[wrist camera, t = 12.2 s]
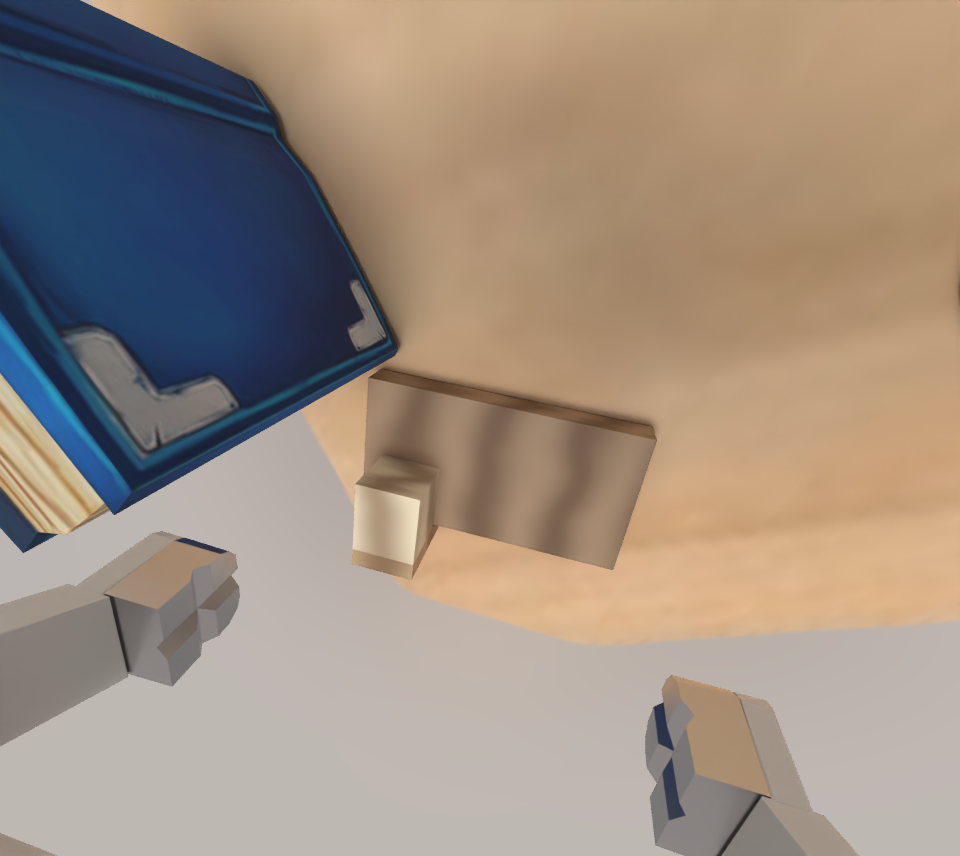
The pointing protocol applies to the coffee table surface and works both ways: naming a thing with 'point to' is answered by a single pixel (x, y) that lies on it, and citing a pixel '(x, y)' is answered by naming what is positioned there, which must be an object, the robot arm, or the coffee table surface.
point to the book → (151, 269)
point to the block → (394, 516)
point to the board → (514, 464)
